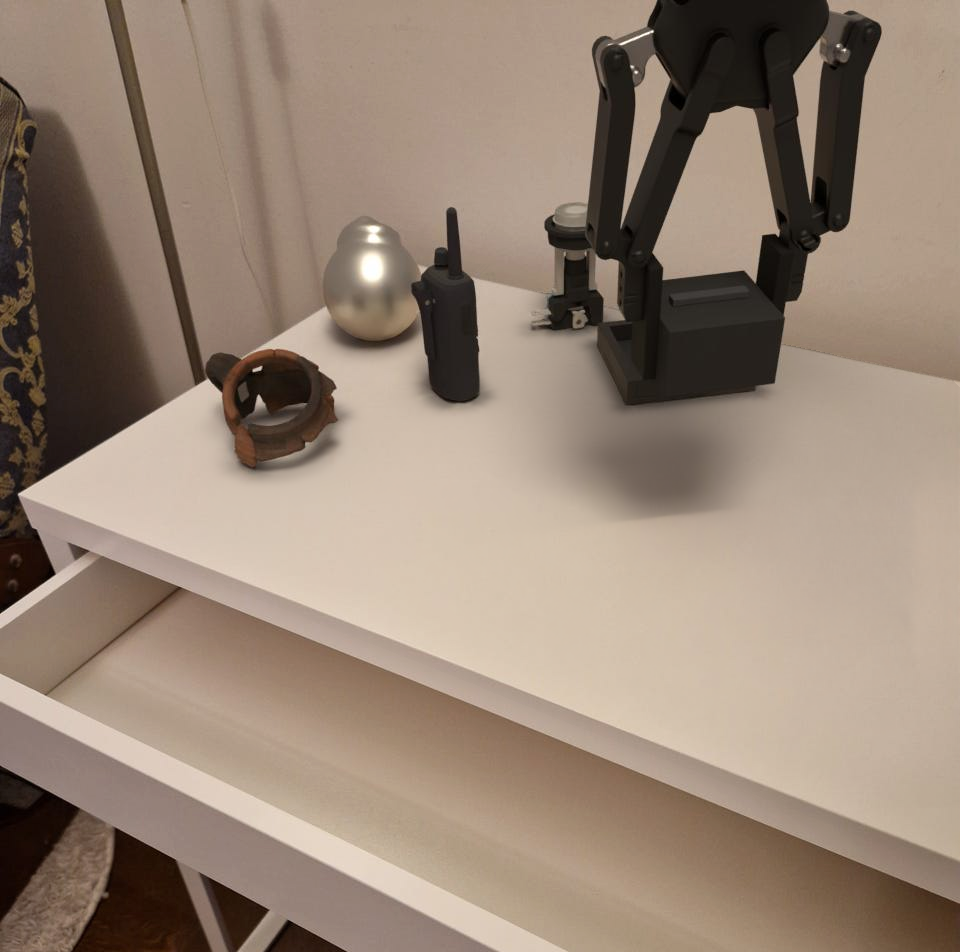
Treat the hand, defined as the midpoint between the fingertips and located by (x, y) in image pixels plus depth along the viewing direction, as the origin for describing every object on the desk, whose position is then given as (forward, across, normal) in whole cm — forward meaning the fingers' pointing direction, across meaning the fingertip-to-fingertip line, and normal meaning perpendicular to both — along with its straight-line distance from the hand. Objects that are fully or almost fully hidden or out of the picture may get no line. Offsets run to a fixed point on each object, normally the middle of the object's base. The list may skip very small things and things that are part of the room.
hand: (702, 360), depth 59 cm
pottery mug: (+12, -27, +19) cm, 35 cm away
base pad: (+13, +6, +22) cm, 26 cm away
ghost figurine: (+13, -18, +35) cm, 41 cm away
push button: (+13, -1, +32) cm, 35 cm away
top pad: (0, 0, 0) cm, 0 cm away
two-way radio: (+13, -13, +22) cm, 29 cm away
